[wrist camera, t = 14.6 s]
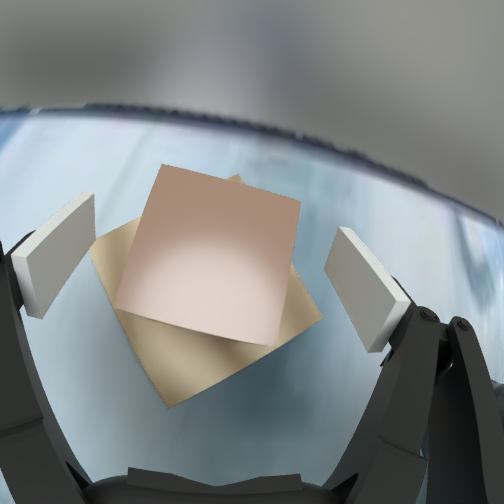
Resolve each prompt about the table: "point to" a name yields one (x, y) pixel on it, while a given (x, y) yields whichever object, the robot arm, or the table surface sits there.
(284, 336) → the birch box
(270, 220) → the pink square box
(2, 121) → the table surface
